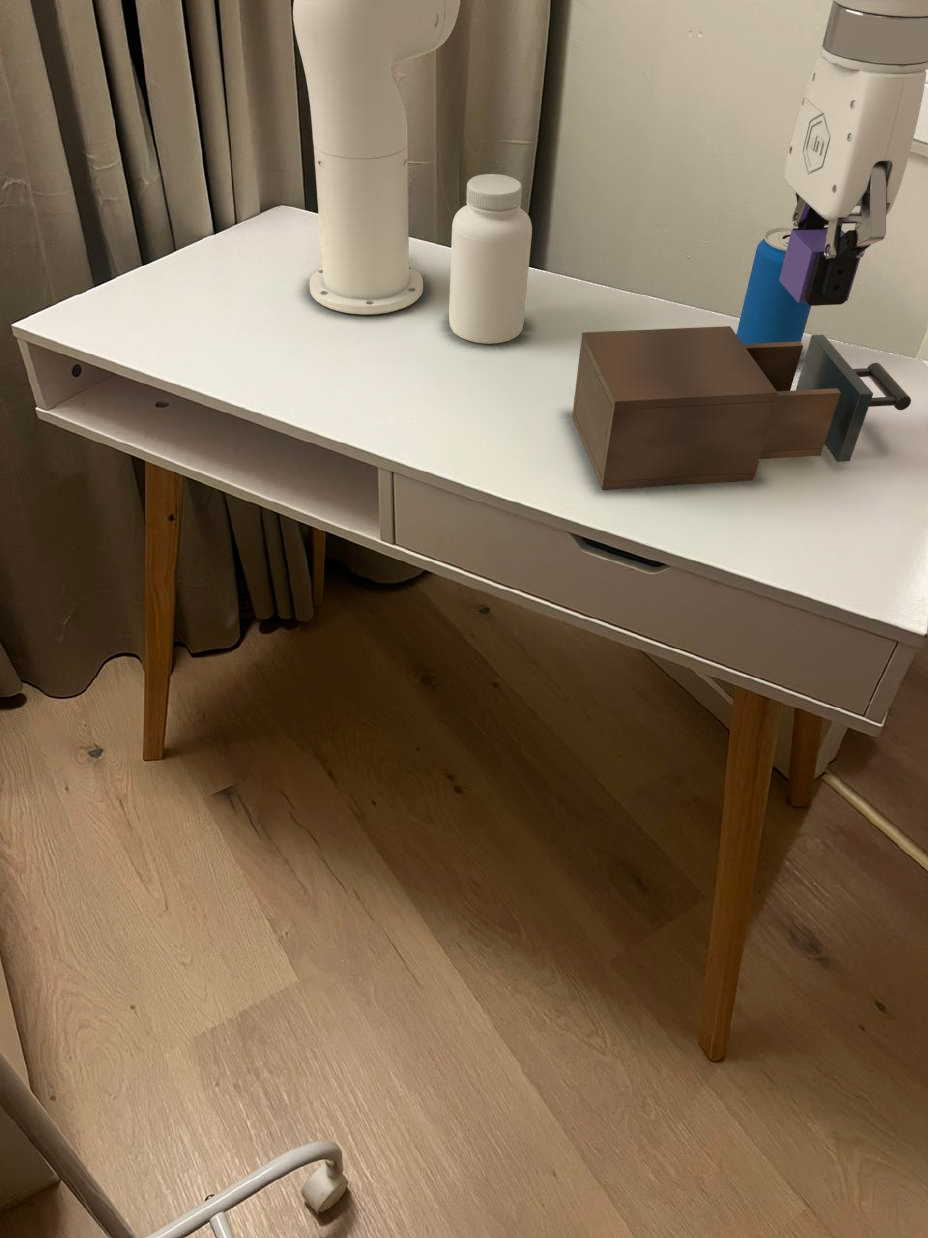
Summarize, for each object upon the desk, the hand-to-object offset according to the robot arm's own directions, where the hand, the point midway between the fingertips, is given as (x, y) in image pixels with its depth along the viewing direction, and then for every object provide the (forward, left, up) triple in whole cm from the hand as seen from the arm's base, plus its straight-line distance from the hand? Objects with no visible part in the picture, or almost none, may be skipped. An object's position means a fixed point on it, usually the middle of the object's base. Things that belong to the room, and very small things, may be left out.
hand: (812, 287), depth 81 cm
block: (0, 0, 0) cm, 0 cm away
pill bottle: (-24, -22, -15) cm, 36 cm away
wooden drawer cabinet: (0, -10, -15) cm, 18 cm away
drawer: (0, +2, -14) cm, 14 cm away
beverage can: (-16, +6, -15) cm, 23 cm away
